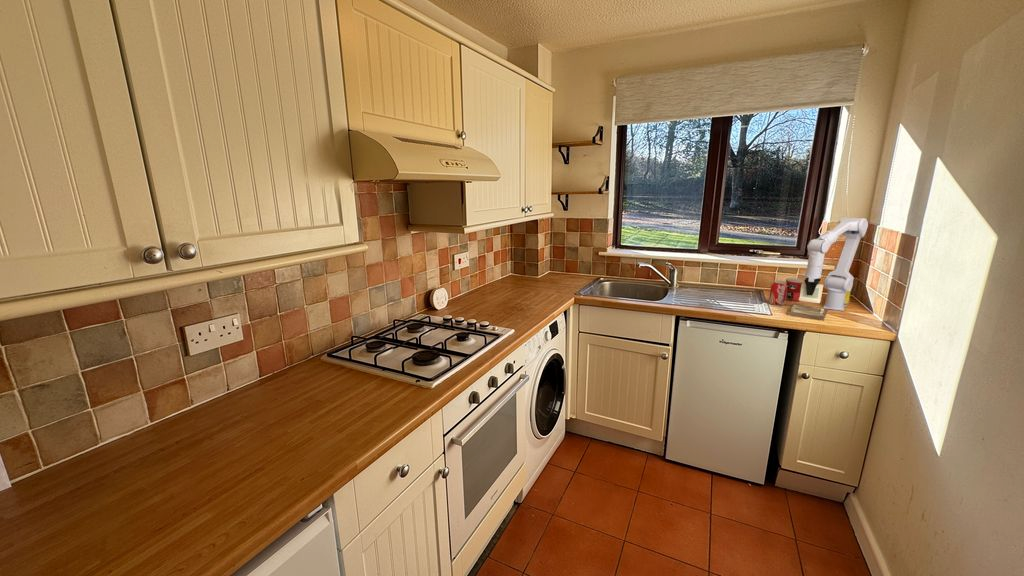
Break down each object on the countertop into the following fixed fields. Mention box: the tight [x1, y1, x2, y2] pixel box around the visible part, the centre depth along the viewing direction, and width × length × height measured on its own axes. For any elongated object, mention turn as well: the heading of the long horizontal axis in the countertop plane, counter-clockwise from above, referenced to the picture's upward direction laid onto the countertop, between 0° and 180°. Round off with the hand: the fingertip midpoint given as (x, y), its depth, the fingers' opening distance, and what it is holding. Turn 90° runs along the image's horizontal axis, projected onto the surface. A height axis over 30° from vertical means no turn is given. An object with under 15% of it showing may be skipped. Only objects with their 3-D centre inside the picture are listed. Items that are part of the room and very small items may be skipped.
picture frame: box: [799, 282, 824, 304], centre depth 193 cm, size 5×8×8 cm, turn 49°
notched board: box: [786, 303, 829, 322], centre depth 197 cm, size 20×14×2 cm
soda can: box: [768, 280, 788, 307], centre depth 210 cm, size 7×7×12 cm
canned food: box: [785, 277, 805, 303], centre depth 218 cm, size 8×8×11 cm
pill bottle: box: [844, 289, 852, 307], centre depth 209 cm, size 6×6×12 cm
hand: (810, 294), depth 194 cm, fingers closed on picture frame, 3 cm apart
